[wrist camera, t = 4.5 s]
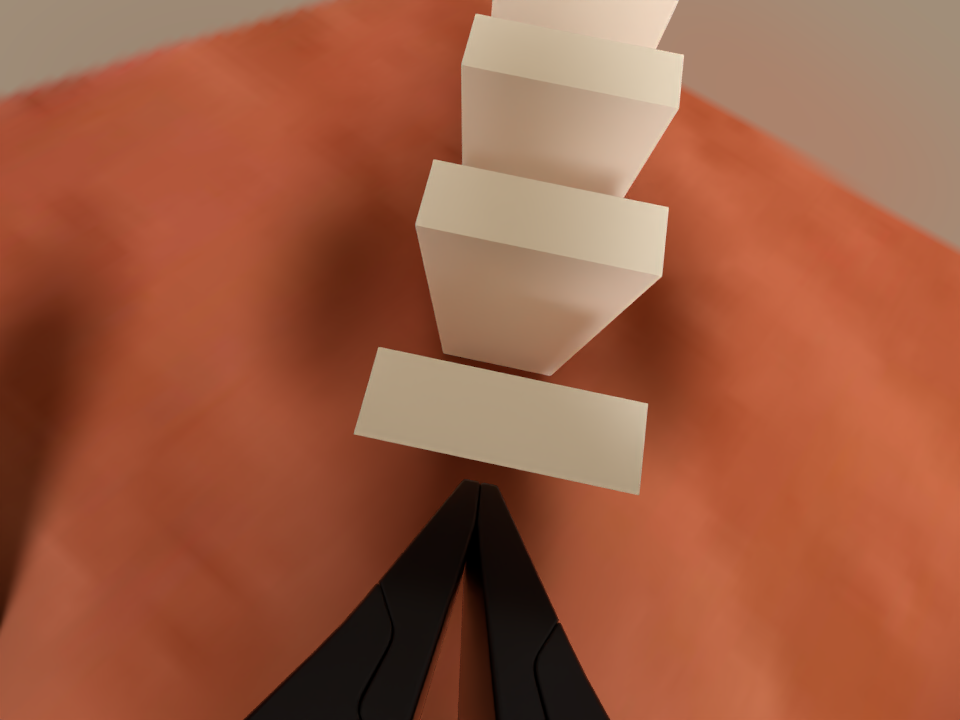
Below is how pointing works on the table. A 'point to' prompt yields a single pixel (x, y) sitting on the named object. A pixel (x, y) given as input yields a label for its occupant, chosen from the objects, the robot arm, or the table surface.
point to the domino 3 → (563, 104)
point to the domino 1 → (505, 420)
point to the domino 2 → (531, 263)
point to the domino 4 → (594, 17)
